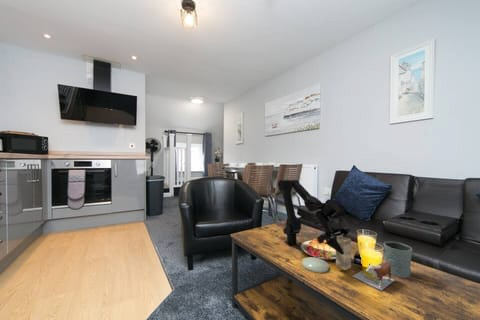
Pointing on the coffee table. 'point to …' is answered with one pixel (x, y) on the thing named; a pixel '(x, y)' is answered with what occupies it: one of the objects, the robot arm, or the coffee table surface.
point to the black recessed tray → (354, 261)
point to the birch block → (344, 259)
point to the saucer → (315, 265)
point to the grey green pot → (398, 258)
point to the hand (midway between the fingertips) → (346, 253)
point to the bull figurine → (380, 271)
